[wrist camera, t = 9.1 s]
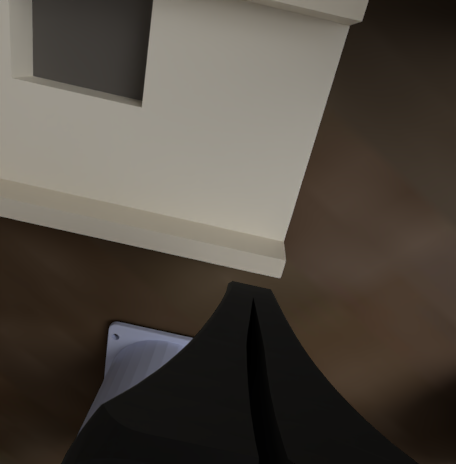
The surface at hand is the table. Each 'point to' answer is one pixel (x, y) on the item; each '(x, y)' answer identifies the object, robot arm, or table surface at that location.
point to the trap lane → (166, 119)
